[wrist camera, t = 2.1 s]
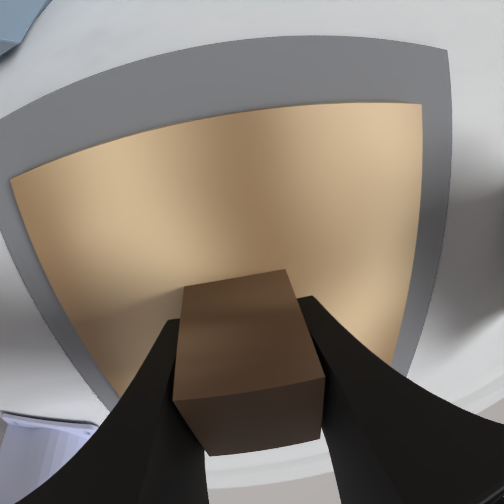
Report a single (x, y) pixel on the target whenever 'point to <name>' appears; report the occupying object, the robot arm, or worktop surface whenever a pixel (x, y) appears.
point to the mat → (228, 101)
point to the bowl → (17, 20)
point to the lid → (235, 253)
